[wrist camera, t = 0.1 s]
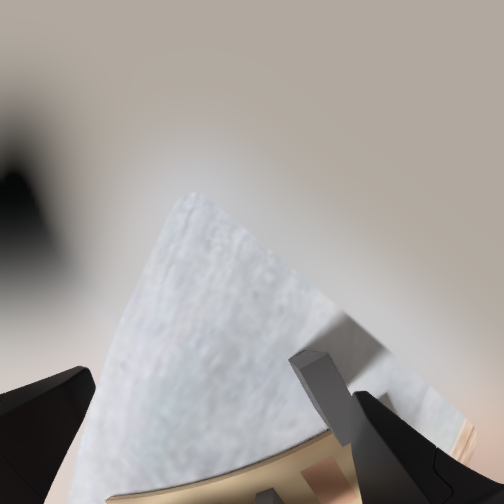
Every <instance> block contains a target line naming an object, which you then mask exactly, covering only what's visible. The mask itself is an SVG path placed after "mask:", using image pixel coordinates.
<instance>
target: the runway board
mask: <svg viewBox="0 0 504 504" xmlns="http://www.w3.org/2000/svg"><path fill="white" fill-rule="evenodd" d="M270 488H274V489H275V491H276V492H277V494H278V495H279V496H280V498H281V499H282V501H283V502H284V503H285V504H362V500H361V495H360V490H359V485H358V480H357V476H356V471H355V467H354V462H353V457H352V451H351V443H350V444H348V445H346V446H344V447H342V446H341V444H340V443H339V442H338V440H337V439H336V437H335V436H334V435H333V433H332V432H331V430H328V431H326V432H325V433H323V434H321V435H319V436H317V437H315V438H313V439H311V440H309V441H307V442H305V443H303V444H301V445H299V446H297V447H295V448H292V449H290V450H288V451H286V452H284V453H281V454H279V455H277V456H274V457H272V458H269V459H267V460H264V461H262V462H259V463H257V464H254V465H251V466H249V467H246V468H243V469H240V470H237V471H234V472H231V473H228V474H225V475H222V476H219V477H215V478H212V479H208V480H205V481H201V482H197V483H193V484H189V485H185V486H180V487H176V488H171V489H166V490H160V491H154V492H148V493H141V494H134V495H125V496H114V497H109V498H108V499H107V500H105V501H106V503H107V504H255V497H256V493H259V492H261V491H264V490H267V489H270Z"/></svg>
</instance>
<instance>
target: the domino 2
mask: <svg viewBox="0 0 504 504" xmlns="http://www.w3.org/2000/svg"><path fill="white" fill-rule="evenodd" d="M289 362H290V364H291V366H292V368H293V369H294V371H295V373H296V375H297V377H298V379H299V380H300V382H301V384H302V386H303V388H304V389H305V391H306V393H307V395H308V397H309V398H310V400H311V402H312V404H313V406H314V407H315V409H316V410H317V412H318V413H319V415H320V416H321V418H322V419H323V420H324V422H325V423H326V425H327V426H328V428H329V429H330V430H331V432H332V433H333V435H334V436H335V437H336V439H337V440H338V442H339V443H340V444H341V446H342V447H344V446H346V445H348V444H350V443H351V441H350V431H349V422H348V408H349V405H350V401H351V398H352V396H351V394H350V393H349V391H348V389H347V387H346V385H345V383H344V381H343V380H342V378H341V376H340V374H339V372H338V370H337V369H336V367H335V365H334V363H333V361H332V359H331V358H330V356H329V354H328V353H322V352H313V351H304V352H302V353H300V354H298V355H296V356H294V357H293V358H291V359H289Z"/></svg>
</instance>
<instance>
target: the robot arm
mask: <svg viewBox="0 0 504 504" xmlns="http://www.w3.org/2000/svg"><path fill="white" fill-rule="evenodd" d="M95 389H96V386H95V383H94V380H93V377H92V374H91V372H90V370H89V369H88V368H87V367H83V366H77V367H74V368H72V369H69V370H66V371H64V372H61V373H59V374H56V375H53V376H51V377H48V378H45V379H42V380H40V381H37V382H34V383H31V384H29V385H26V386H23V387H20V388H18V389H15V390H11V391H9V392H6V393H3V394H0V504H44V501H45V499H46V497H47V494H48V492H49V490H50V487H51V485H52V483H53V481H54V479H55V476H56V474H57V472H58V470H59V468H60V466H61V464H62V462H63V459H64V457H65V455H66V453H67V451H68V449H69V447H70V445H71V443H72V441H73V439H74V438H75V436H76V433H77V432H78V430H79V428H80V426H81V424H82V422H83V420H84V417H85V415H86V412H87V410H88V407H89V405H90V402H91V400H92V397H93V395H94V393H95ZM348 422H349V431H350V441H351V451H352V457H353V462H354V467H355V471H356V476H357V480H358V485H359V490H360V495H361V500H362V504H504V484H500V483H497V482H495V481H493V480H491V479H489V478H487V477H485V476H483V475H481V474H479V473H477V472H475V471H473V470H471V469H470V468H468V467H466V466H465V465H463V464H461V463H460V462H458V461H456V460H455V459H453V458H452V457H451V456H449V455H448V454H446V453H445V452H444V451H442V450H441V449H440V448H438V447H437V448H436V446H435V445H434V444H433V443H432V442H430V441H429V440H428V439H426V438H425V437H424V436H422V435H421V434H420V433H419V432H417V431H416V430H415V429H413V428H412V427H411V426H410V425H408V424H407V423H406V422H405V421H403V420H402V419H401V418H399V417H398V416H397V415H396V414H394V413H393V412H392V411H391V410H389V409H388V408H387V407H386V406H385V405H383V404H382V403H381V402H380V401H378V400H377V399H376V398H375V397H373V396H372V395H371V394H370V393H369V392H367V391H356V392H354V393H353V395H352V398H351V401H350V405H349V408H348Z"/></svg>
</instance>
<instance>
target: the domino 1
mask: <svg viewBox="0 0 504 504" xmlns="http://www.w3.org/2000/svg"><path fill="white" fill-rule="evenodd" d="M255 504H285V503H284V502H283V501H282V499H281V498H280V496H279V495H278V494H277V492H276V491H275V489H274V488H270V489H267V490H264V491H261V492H259V493H256V497H255Z"/></svg>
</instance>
